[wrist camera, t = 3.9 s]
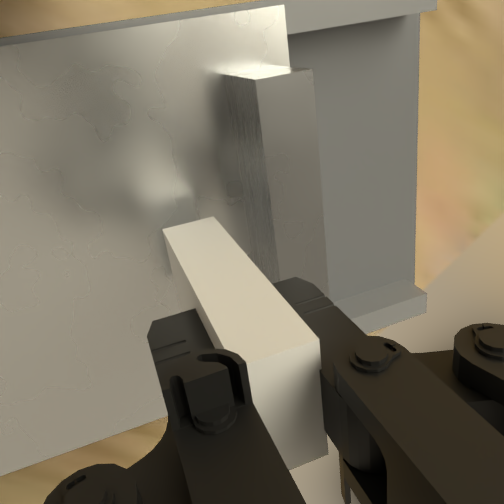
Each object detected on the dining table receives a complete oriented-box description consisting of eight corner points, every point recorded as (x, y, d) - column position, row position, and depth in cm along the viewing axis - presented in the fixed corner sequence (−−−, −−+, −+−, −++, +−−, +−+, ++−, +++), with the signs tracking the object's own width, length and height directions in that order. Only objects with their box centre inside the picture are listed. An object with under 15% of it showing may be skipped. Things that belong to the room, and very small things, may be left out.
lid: (-217, 78, 11) (-313, 90, 8) (275, 6, 14) (327, -4, 11) (-5, 465, 16) (-19, 548, 13) (310, 353, 19) (350, 403, 16)
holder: (-177, 66, 13) (-230, 71, 11) (399, -18, 18) (450, -27, 15) (0, 414, 19) (-10, 467, 16) (398, 282, 23) (435, 309, 21)
